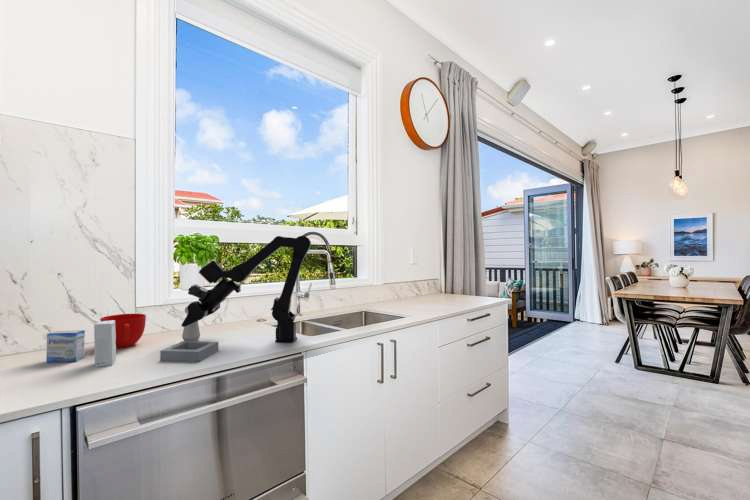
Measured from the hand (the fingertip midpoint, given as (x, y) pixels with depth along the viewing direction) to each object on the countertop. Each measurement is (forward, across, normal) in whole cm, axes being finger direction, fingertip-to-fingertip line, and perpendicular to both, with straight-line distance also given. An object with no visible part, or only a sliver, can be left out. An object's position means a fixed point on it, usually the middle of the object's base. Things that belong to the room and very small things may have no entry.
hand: (187, 323), depth 134 cm
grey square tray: (0, +17, +10) cm, 20 cm away
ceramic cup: (+18, +5, -8) cm, 21 cm away
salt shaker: (+4, 0, +6) cm, 7 cm away
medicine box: (+24, +19, -14) cm, 34 cm away
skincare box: (+15, +24, -5) cm, 28 cm away
